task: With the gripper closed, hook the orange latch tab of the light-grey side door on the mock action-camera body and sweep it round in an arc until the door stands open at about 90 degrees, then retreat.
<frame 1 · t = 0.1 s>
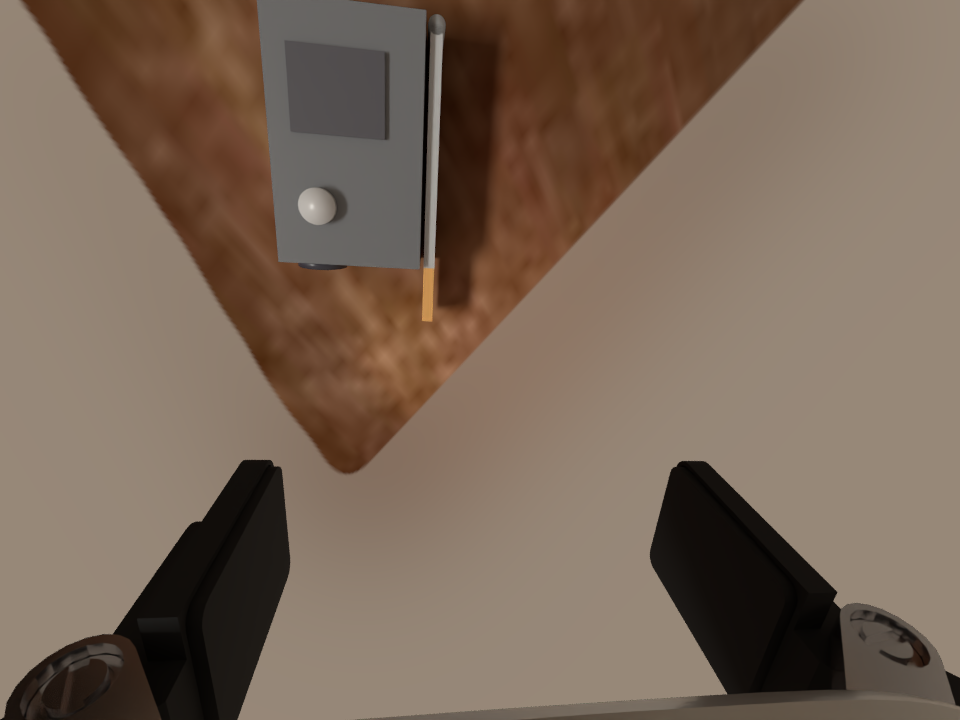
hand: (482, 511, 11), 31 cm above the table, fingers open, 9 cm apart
side door: (431, 186, 35), point 3 cm above the table, hinge at 0.0°
camera body: (358, 150, 36), on the table
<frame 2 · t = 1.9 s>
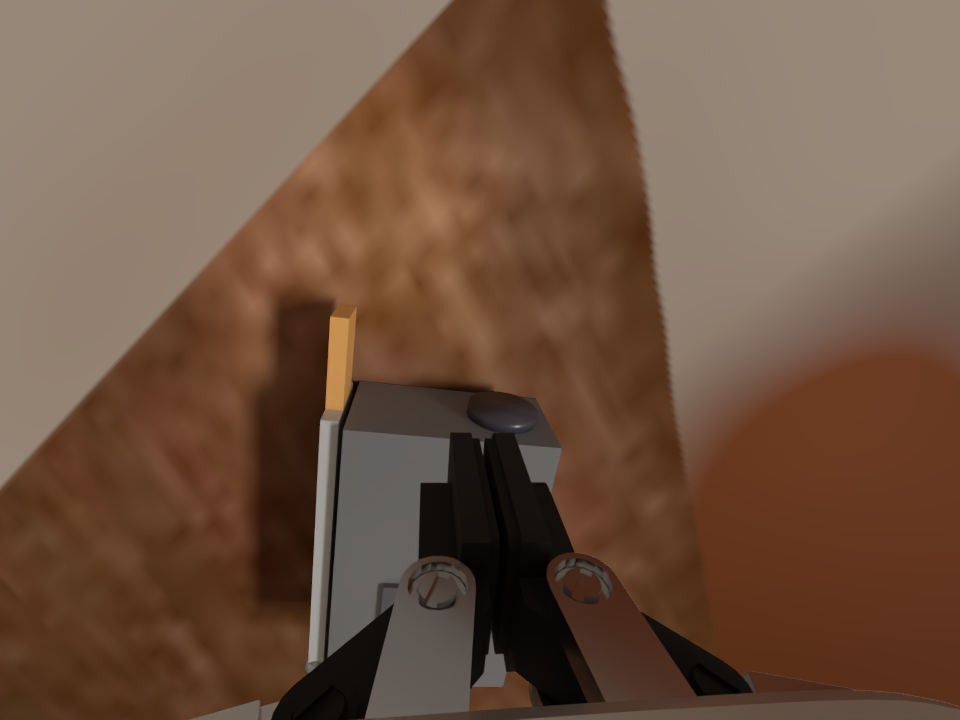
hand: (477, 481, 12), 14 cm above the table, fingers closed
side door: (332, 497, 24), point 3 cm above the table, hinge at 0.0°
camera body: (432, 507, 28), on the table
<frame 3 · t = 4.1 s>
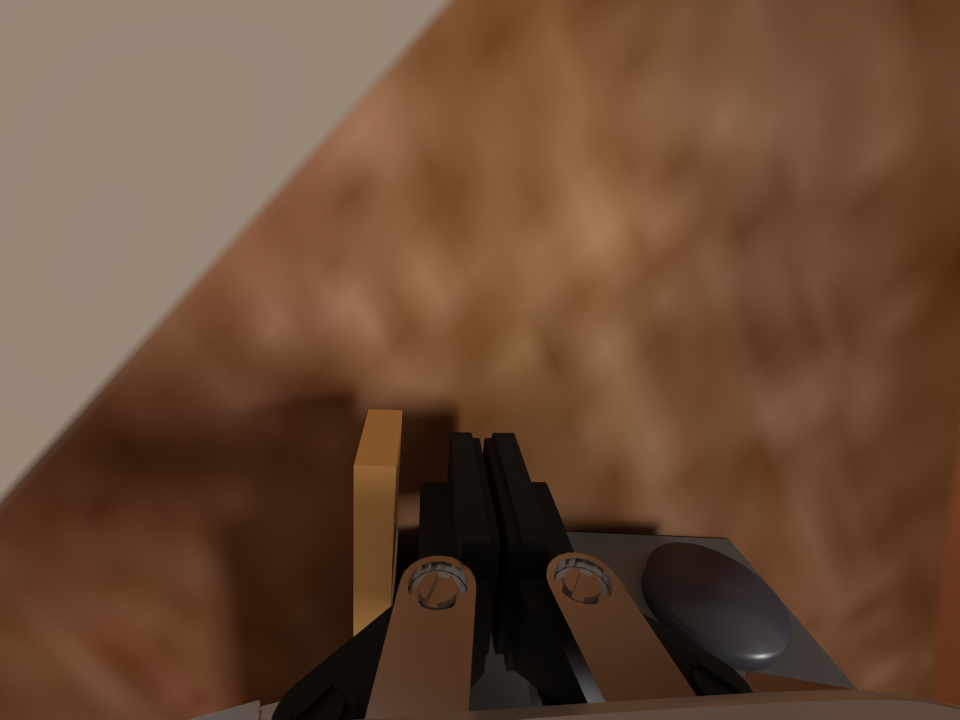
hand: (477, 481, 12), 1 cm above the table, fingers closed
camera body: (541, 700, 17), on the table
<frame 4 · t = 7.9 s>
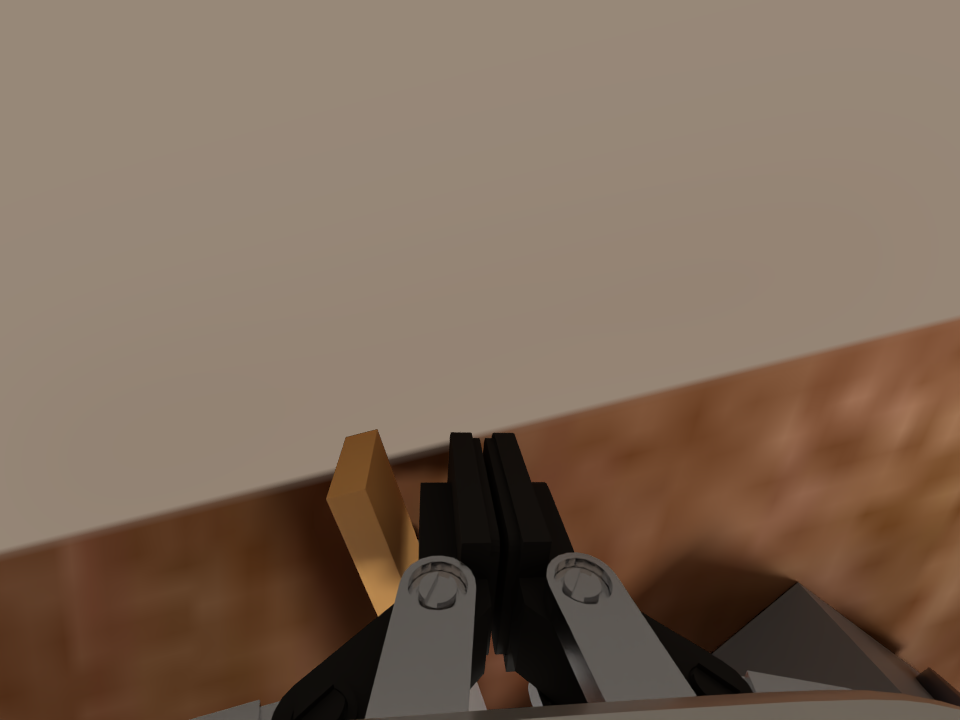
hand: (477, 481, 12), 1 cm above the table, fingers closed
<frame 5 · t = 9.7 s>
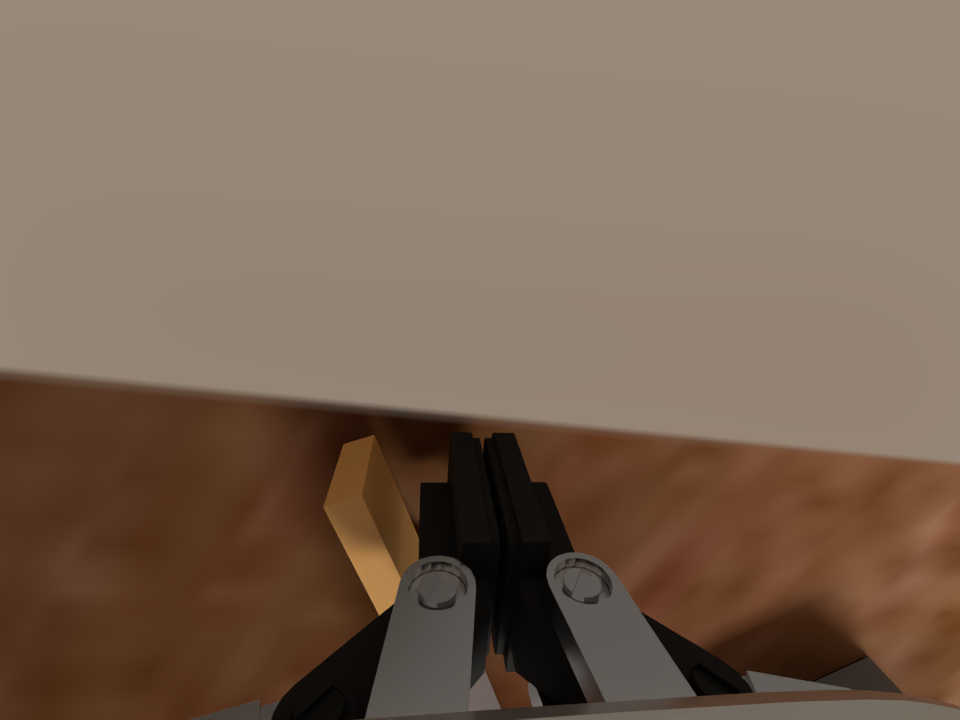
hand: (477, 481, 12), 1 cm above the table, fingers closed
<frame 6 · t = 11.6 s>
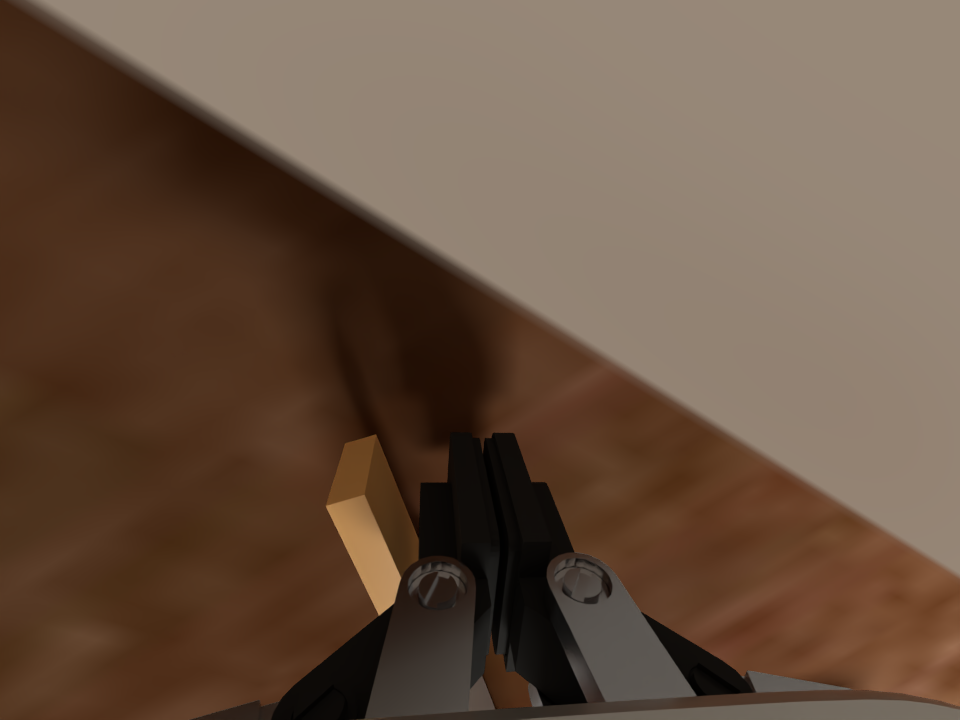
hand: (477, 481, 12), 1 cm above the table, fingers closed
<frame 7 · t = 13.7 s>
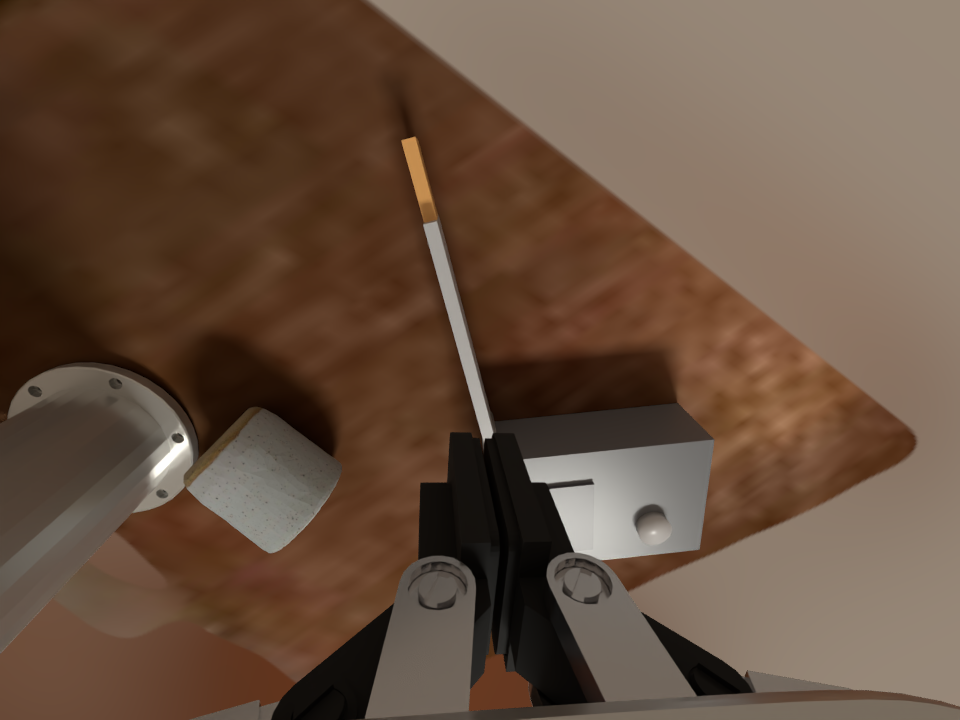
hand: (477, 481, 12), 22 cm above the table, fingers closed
side door: (455, 308, 30), point 3 cm above the table, hinge at 99.0°
camera body: (579, 464, 39), on the table
ceramic mug: (275, 457, 37), on the table
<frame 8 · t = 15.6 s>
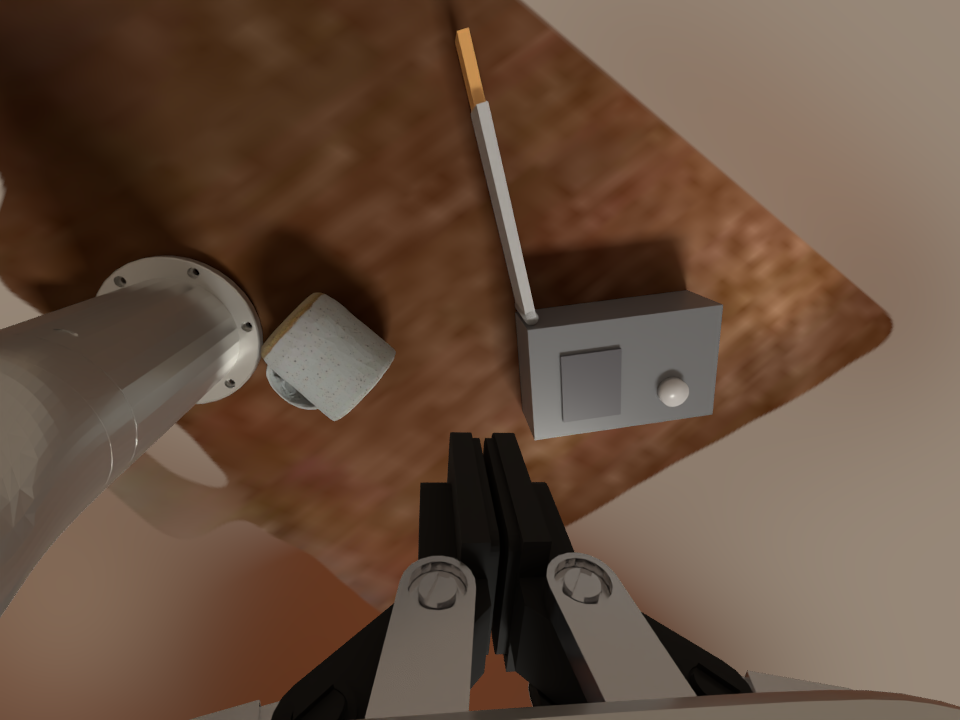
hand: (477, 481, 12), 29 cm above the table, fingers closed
side door: (498, 191, 35), point 3 cm above the table, hinge at 99.0°
camera body: (602, 352, 43), on the table
ceramic mug: (330, 351, 41), on the table
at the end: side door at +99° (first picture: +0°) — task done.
